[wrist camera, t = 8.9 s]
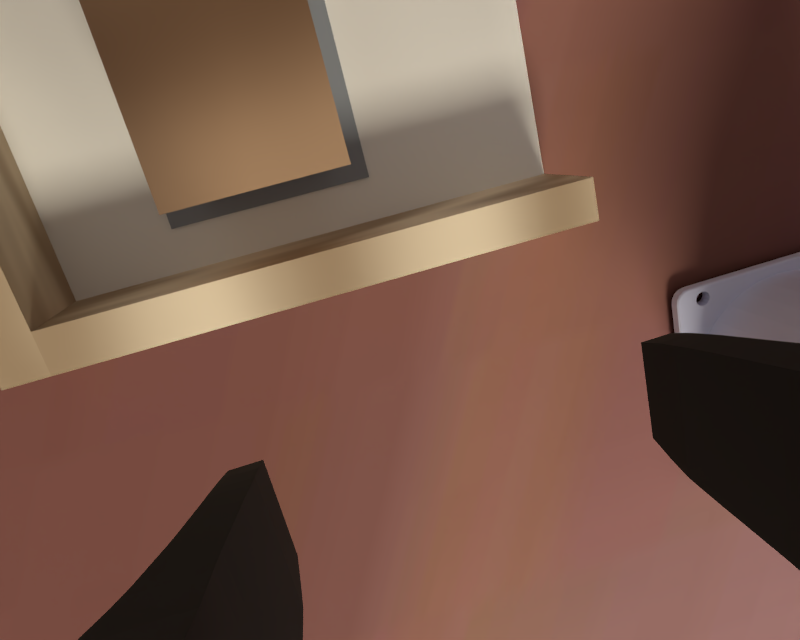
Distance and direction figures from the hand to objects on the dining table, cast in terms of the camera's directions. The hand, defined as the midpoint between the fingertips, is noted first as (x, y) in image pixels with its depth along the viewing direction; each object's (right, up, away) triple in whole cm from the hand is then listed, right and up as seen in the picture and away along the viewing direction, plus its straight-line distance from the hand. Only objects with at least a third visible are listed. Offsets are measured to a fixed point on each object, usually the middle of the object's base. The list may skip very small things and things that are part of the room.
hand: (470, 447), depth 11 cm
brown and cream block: (-6, +9, +6) cm, 12 cm away
